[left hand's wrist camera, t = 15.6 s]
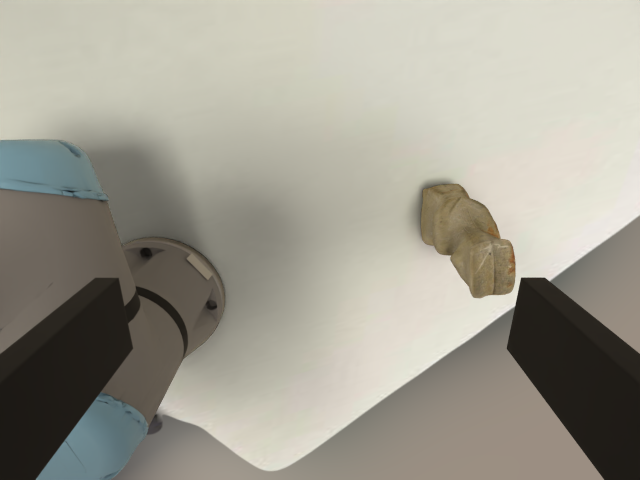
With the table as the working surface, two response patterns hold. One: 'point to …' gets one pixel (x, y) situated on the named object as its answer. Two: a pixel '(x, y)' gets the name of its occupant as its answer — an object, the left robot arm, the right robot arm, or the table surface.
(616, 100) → the table surface
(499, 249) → the sculpture
